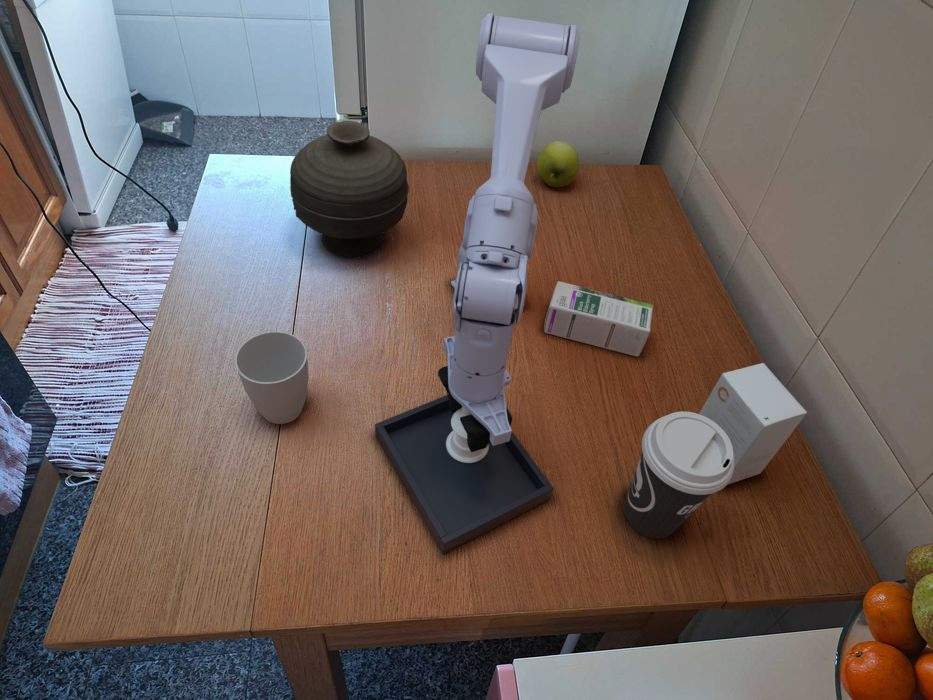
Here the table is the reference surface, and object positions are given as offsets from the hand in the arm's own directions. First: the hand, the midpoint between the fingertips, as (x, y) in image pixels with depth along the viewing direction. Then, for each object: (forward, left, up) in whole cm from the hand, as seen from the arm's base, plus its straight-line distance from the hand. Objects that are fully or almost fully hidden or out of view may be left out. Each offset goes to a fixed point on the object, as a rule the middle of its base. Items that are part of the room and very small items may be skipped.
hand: (468, 430), depth 78 cm
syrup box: (-4, +33, -1) cm, 33 cm away
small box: (+16, +29, -4) cm, 33 cm away
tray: (+2, -2, -4) cm, 5 cm away
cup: (-16, -18, -4) cm, 24 cm away
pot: (-44, +4, -4) cm, 44 cm away
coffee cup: (+18, +15, -4) cm, 24 cm away
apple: (-44, +45, -4) cm, 63 cm away
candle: (0, 0, -3) cm, 4 cm away
